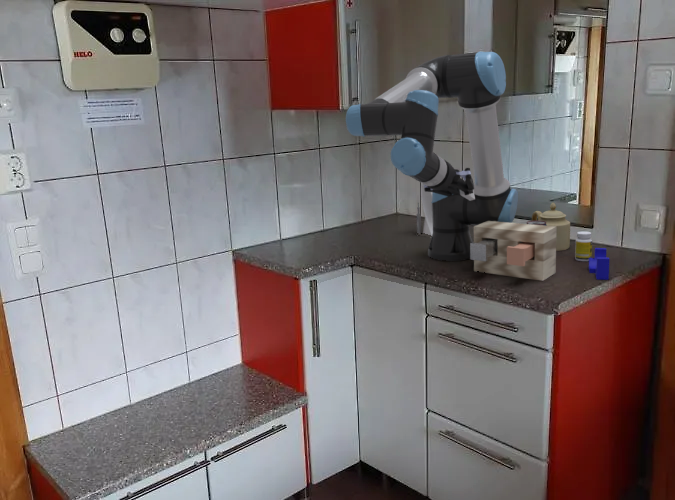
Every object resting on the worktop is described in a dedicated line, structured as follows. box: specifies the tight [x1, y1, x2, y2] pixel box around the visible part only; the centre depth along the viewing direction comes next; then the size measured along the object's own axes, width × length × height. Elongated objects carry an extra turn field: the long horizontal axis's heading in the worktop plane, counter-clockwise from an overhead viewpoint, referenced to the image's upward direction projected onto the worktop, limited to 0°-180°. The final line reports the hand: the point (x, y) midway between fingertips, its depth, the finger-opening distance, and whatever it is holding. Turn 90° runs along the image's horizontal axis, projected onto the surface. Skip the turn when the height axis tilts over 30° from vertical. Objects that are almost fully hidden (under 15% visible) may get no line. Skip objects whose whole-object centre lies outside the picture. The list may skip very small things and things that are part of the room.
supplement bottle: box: [574, 231, 593, 262], centre depth 190 cm, size 5×5×8 cm
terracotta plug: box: [507, 242, 535, 266], centre depth 174 cm, size 5×12×5 cm, turn 140°
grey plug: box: [469, 238, 498, 261], centre depth 181 cm, size 5×12×5 cm, turn 140°
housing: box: [473, 221, 557, 282], centre depth 182 cm, size 21×9×14 cm, turn 50°
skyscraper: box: [416, 182, 433, 236], centre depth 234 cm, size 8×8×28 cm
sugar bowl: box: [531, 202, 571, 252], centre depth 208 cm, size 15×11×15 cm
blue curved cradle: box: [588, 247, 610, 281], centre depth 176 cm, size 12×4×6 cm, turn 162°
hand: (471, 195), depth 170 cm, fingers closed
